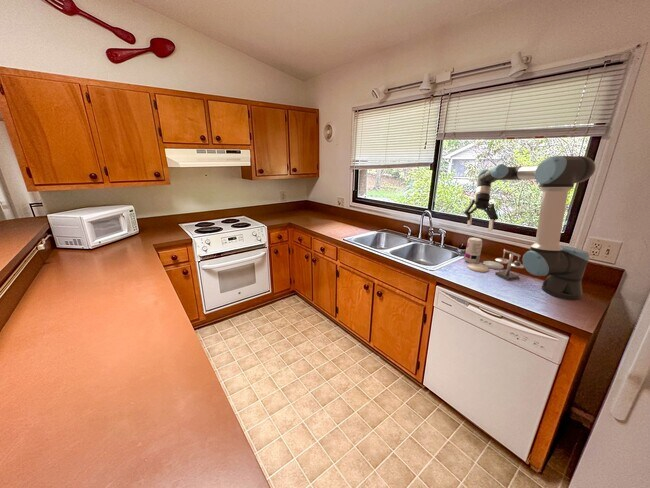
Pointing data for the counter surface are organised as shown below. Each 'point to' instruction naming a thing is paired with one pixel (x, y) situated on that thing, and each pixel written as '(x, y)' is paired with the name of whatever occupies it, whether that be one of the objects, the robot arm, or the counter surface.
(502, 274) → the balance
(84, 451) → the counter surface
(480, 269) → the cream dish
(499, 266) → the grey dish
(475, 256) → the supplement can
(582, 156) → the robot arm
